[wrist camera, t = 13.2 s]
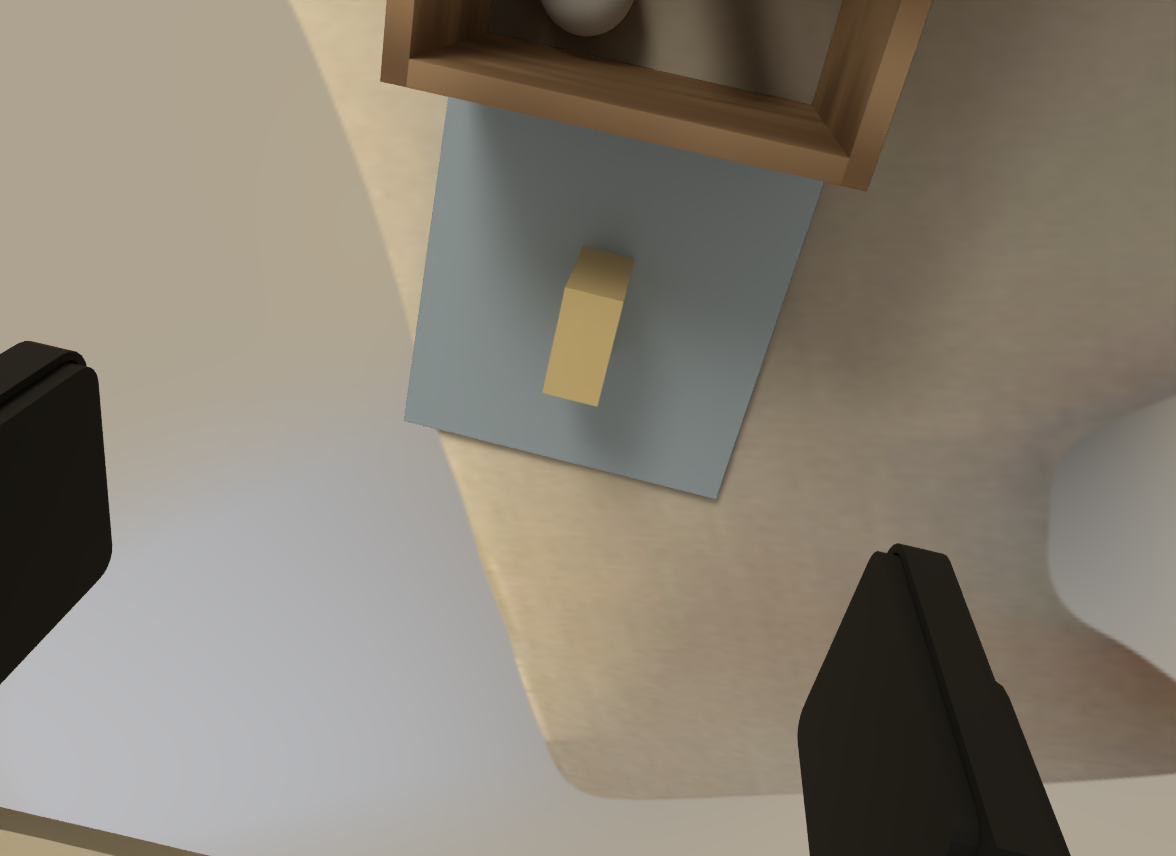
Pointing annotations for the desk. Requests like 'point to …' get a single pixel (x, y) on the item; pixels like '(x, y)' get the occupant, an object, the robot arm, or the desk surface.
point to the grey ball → (587, 14)
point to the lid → (599, 294)
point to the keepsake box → (671, 88)
